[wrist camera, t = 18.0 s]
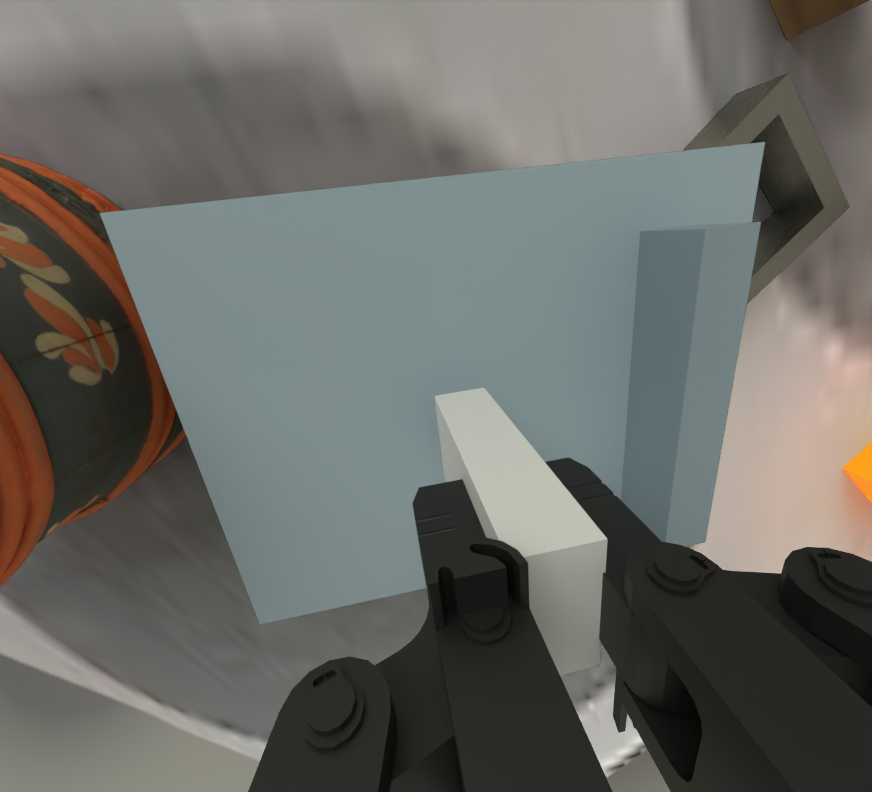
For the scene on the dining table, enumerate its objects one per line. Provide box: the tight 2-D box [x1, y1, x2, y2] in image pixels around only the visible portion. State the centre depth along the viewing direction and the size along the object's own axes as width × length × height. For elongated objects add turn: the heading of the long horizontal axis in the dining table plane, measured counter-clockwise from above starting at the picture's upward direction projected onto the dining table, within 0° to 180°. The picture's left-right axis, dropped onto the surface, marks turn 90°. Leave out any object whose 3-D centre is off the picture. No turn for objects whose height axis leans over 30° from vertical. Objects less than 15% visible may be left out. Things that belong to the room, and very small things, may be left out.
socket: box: [683, 73, 849, 304], centre depth 20 cm, size 7×7×2 cm
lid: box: [100, 142, 765, 625], centre depth 13 cm, size 18×14×4 cm
